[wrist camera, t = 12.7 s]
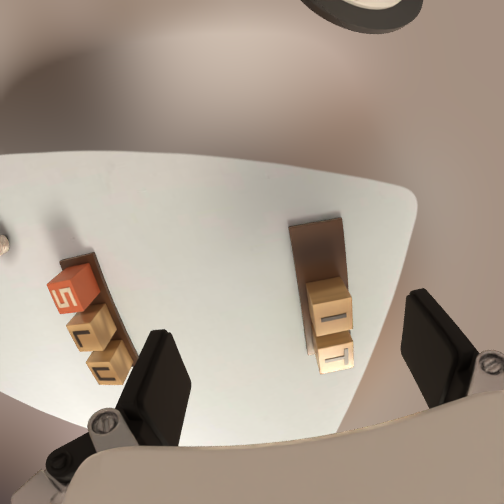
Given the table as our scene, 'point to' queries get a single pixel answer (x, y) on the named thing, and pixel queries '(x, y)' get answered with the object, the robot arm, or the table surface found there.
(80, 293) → the tile
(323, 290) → the near word
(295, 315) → the table surface
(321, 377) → the table surface
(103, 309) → the far word
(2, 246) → the lightbulb
